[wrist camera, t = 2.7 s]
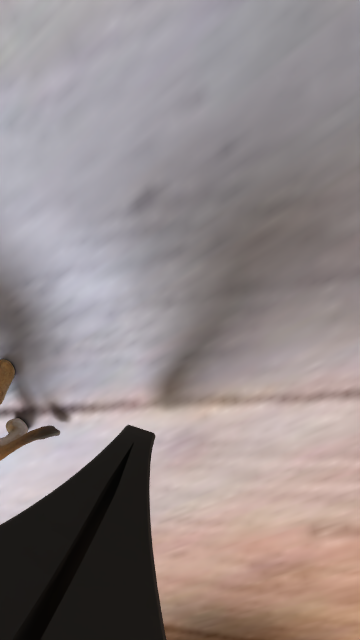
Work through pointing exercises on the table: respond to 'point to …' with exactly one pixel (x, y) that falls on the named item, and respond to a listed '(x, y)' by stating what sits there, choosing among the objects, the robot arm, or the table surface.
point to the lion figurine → (17, 419)
